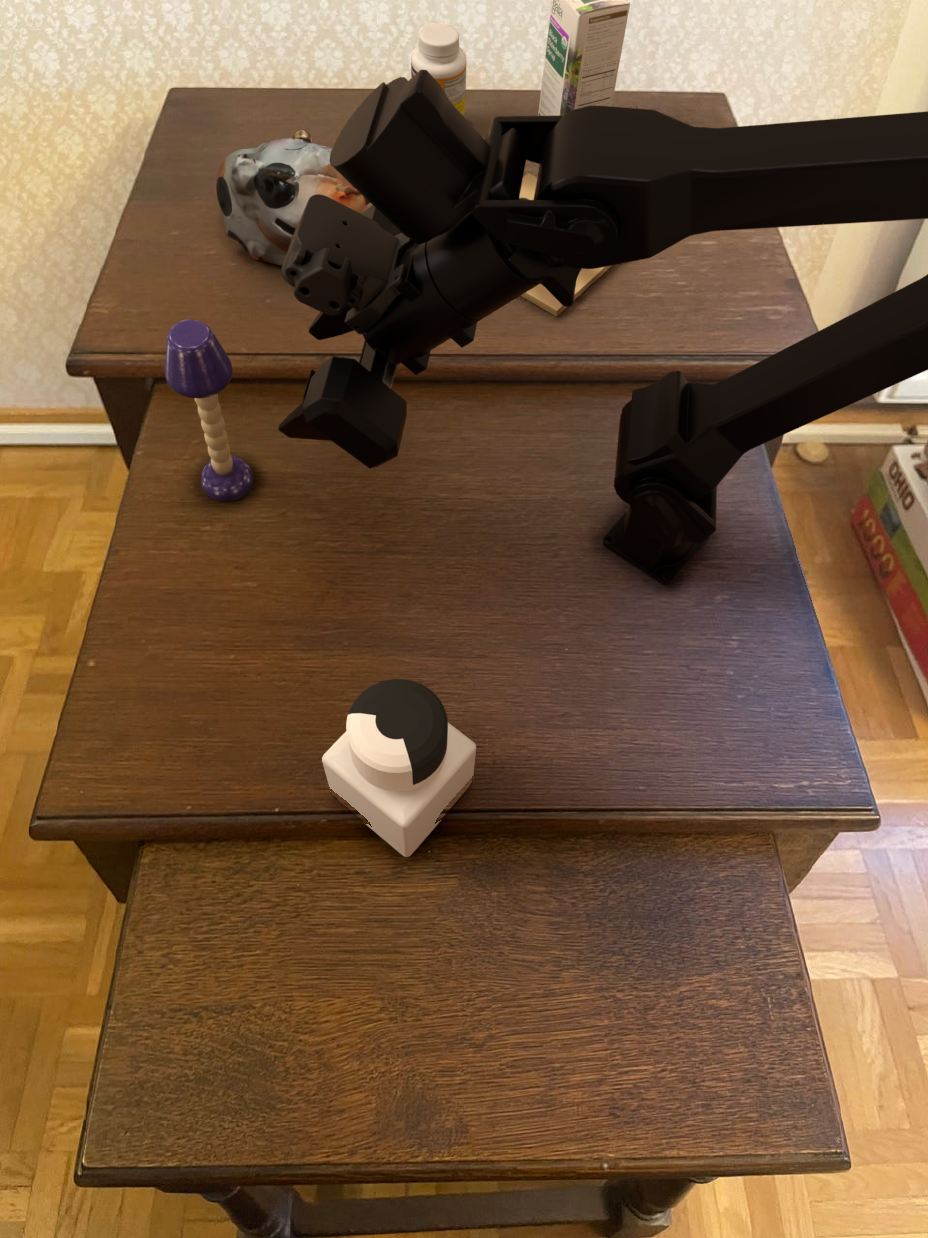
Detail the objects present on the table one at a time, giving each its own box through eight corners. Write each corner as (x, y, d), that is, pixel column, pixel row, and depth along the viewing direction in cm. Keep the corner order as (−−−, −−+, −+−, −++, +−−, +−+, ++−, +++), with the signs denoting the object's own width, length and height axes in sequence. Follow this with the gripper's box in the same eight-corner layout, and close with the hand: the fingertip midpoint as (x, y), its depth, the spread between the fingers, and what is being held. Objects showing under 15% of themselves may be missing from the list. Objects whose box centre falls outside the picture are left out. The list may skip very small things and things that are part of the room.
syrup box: (534, 125, 104) (548, -19, 92) (582, 112, 106) (603, -31, 93) (559, 156, 102) (577, 13, 89) (608, 142, 103) (633, 0, 91)
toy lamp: (265, 464, 81) (229, 310, 67) (253, 509, 79) (213, 360, 64) (208, 458, 81) (159, 304, 67) (195, 503, 79) (142, 353, 64)
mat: (556, 316, 90) (557, 310, 90) (440, 249, 95) (440, 242, 94) (640, 239, 96) (642, 233, 95) (527, 179, 100) (528, 172, 99)
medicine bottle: (397, 722, 70) (391, 643, 59) (474, 783, 68) (482, 712, 57) (329, 795, 67) (310, 726, 57) (407, 861, 65) (402, 802, 55)
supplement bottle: (402, 125, 104) (399, 27, 95) (445, 108, 105) (446, 10, 97) (430, 153, 102) (430, 56, 93) (474, 135, 103) (478, 38, 94)
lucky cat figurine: (373, 185, 99) (406, 106, 85) (358, 298, 97) (389, 236, 84) (222, 144, 94) (232, 55, 81) (205, 262, 93) (212, 190, 80)
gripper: (389, 79, 58) (239, 214, 68) (323, 298, 49) (161, 417, 59) (511, 208, 64) (357, 315, 75) (472, 423, 55) (303, 511, 65)
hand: (299, 381), depth 68 cm, fingers open, 9 cm apart
